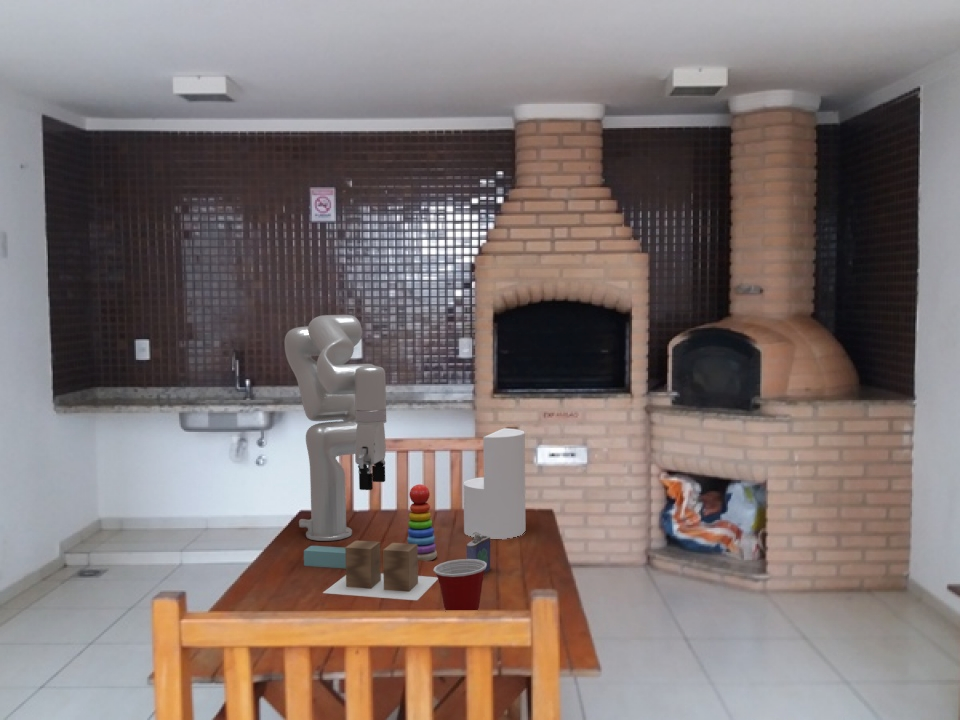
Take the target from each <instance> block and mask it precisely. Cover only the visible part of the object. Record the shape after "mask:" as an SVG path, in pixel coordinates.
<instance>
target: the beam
mask: <svg viewBox="0 0 960 720" xmlns="http://www.w3.org/2000/svg"><path fill="white" fill-rule="evenodd" d="M303 566H305V567H318V568H332V569H345V570H346V556H345V547H343V546H341V547H339V546H326V545H325V546H323V545H310V546H308V547H307V548H305V549H304V550H303Z"/></svg>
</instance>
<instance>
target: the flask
mask: <svg viewBox="0 0 960 720" xmlns="http://www.w3.org/2000/svg"><path fill="white" fill-rule="evenodd" d="M475 533H476V534H475ZM475 533H473V534H475V537H474V538H473V539H472V540H471V541H469V542H468V543H467V544H466V559H477V560H481V561H484V562H486V563H487V566H486V569H485V571H484V574H485V573H487V572H490V571H491V540H490V537H489V536H483V535H482V536H480V535H481V534H479V533H477V532H475Z"/></svg>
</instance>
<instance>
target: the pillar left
mask: <svg viewBox="0 0 960 720" xmlns="http://www.w3.org/2000/svg"><path fill="white" fill-rule="evenodd" d="M344 548H345V556H346V569H345V575H346V587H355V588H368V589H371V588H373V587H374V586H375V585H376V584H377V583H378V582H380V581H381V572H382V571H381V566H382V565H381V541H370V540H356V539H355V540H354V541H353V542H351V543H349V544H348V545H346V546H345V547H344Z"/></svg>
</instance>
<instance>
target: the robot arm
mask: <svg viewBox="0 0 960 720" xmlns="http://www.w3.org/2000/svg"><path fill="white" fill-rule="evenodd" d="M362 337H363V329H362V325H361V322H360V320H359V319H358V318H357V317H356V316H354V315H352V314H328V315H327V314H324V315H319V316H316V317H314V318H313V319H312V320H311V321H310V322H309V324H308V326H307V325H306V326H298V327H294V328H291V329H290V330H289V331H287V333H286V334H285V337H284V352H285V357H286V360H287V362H288V364H289V366H290V368H291V370H292V372H293V374H294V376H295V378H296V381H297V385H298V389H299V394H300V399H301V401H302V406H303V410H304V414H305V416H306V417H307V418H306V419H308V420H310V421H312V422H319V423H314V424H313V425H311V426H310V427H309V428H308V429H307V430H306V434H305V444H306V448H307V454H308V461H309V462H308V463H309V475H310V476H309V478H310V479H309V480H310V483H309V484H310V515H311V516H310V517H311V518H310V519H306V518H301V519H299V521H298V525H299V526H298V527H299V528H306V529H307V531H306V532H305V536H306V538H307V539H309V540H311V541H317V542H318V541H319V542H330V541H333V542H334V541H339V540H344V539H347V538H349V537H351V536H352V535H353V530H352V528H350V527H348V526H347V506H346V505H347V502H346V501H347V498H346V495H347V494H346V472H345V468H343V466H342V464H340V462H339V461H338V460H337V457H341V456H347V455H354V456H355V464H357V467H358V484H359V485H358V487H359V488H358V489H359V490H360V491H372V490H373V489H374V488H373V487H374V485H373V484H374V483H384V482H386V461H385V459H386V450H387V449H386V431H385V430H386V429H385V423H387V389H386V387H387V385H386V383H387V382H386V370H385V369H384V368H383V367H382V366H377V365H374V364H372V363H352V364H351V363H349V364H348V363H347V362H349V360H351V358H352V357H353V354H354V350H355V347H356V346H357V345H358V344H359V343H360V341H362ZM316 356H317V357H318V358H317V360H315V359H313V357H316ZM346 363H347V364H346ZM327 421H328V422H327Z"/></svg>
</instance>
